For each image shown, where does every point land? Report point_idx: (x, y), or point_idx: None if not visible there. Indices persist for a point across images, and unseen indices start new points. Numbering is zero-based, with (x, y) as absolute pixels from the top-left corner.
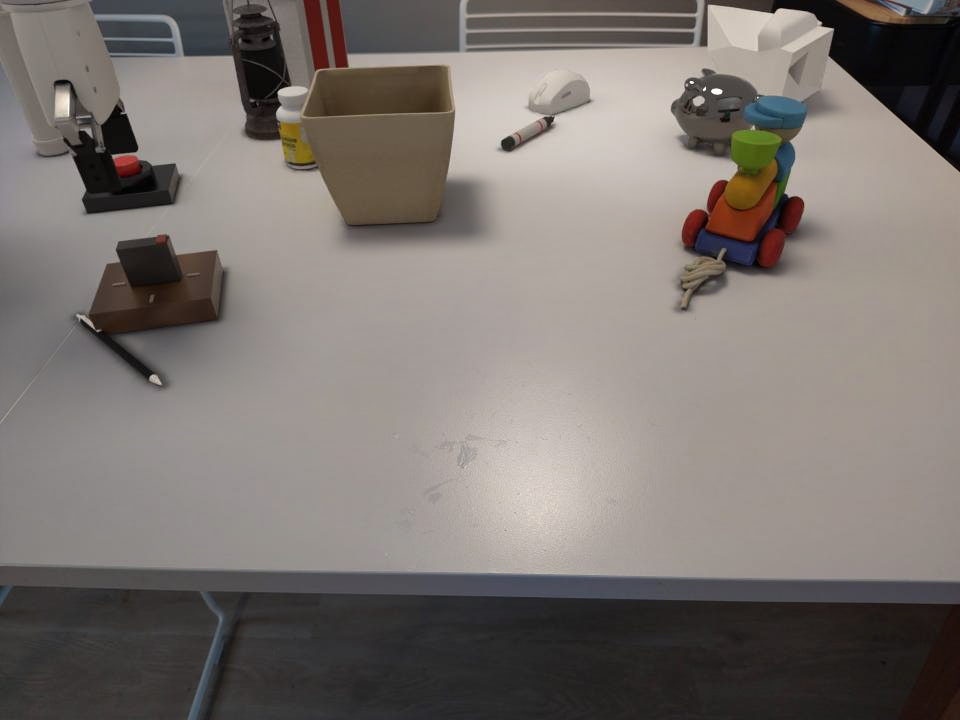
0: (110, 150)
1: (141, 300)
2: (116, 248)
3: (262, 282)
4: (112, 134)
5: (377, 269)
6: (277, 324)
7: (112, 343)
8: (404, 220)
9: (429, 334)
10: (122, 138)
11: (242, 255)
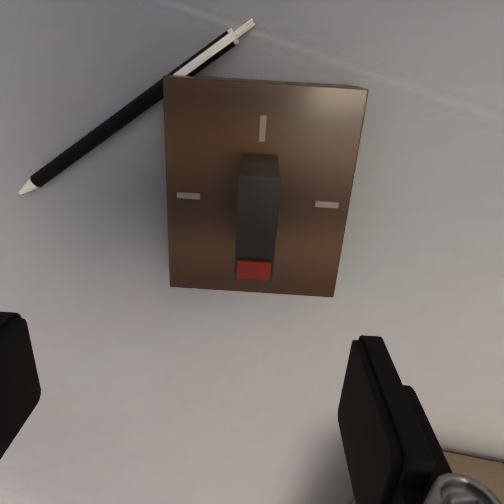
0: (354, 357)
1: (189, 176)
2: (244, 177)
3: (265, 326)
4: (364, 429)
5: (248, 450)
6: (147, 337)
7: (128, 110)
8: (354, 500)
9: (93, 469)
10: (351, 436)
11: (365, 304)
